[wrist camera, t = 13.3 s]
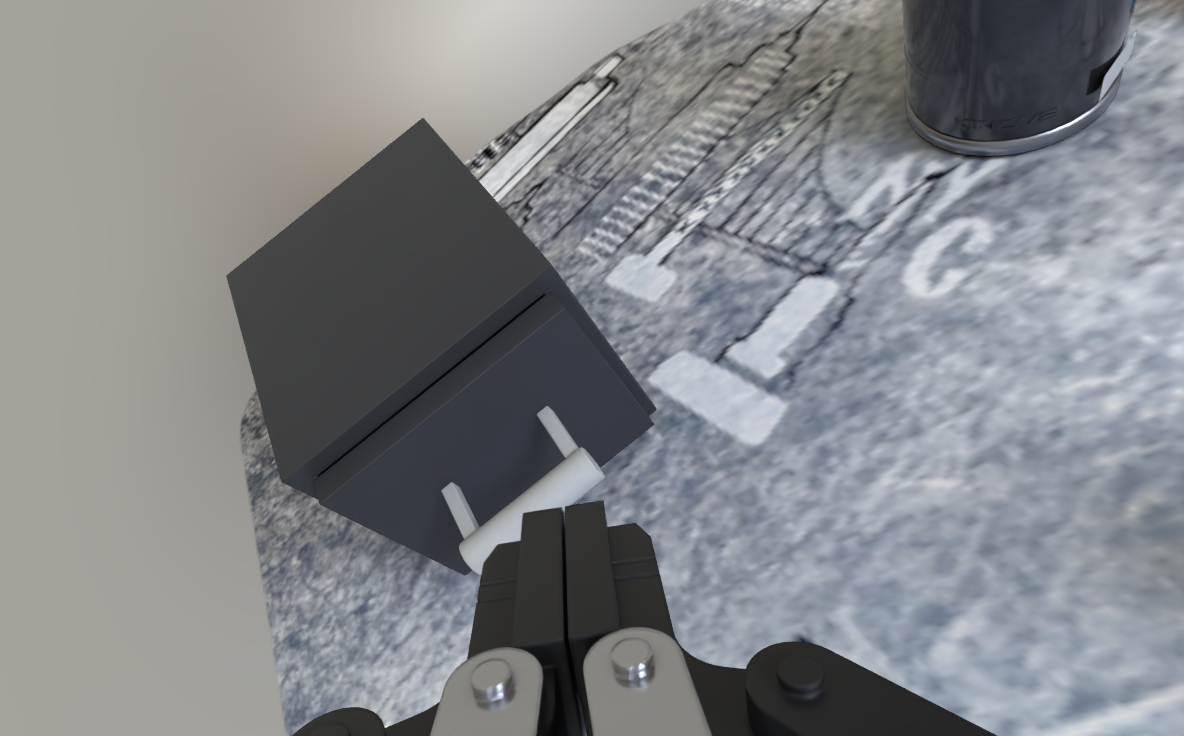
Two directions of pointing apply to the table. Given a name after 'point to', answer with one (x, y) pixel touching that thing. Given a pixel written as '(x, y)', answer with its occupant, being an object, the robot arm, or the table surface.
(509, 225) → the grey drawer cabinet
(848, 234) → the table surface
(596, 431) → the dark grey drawer
